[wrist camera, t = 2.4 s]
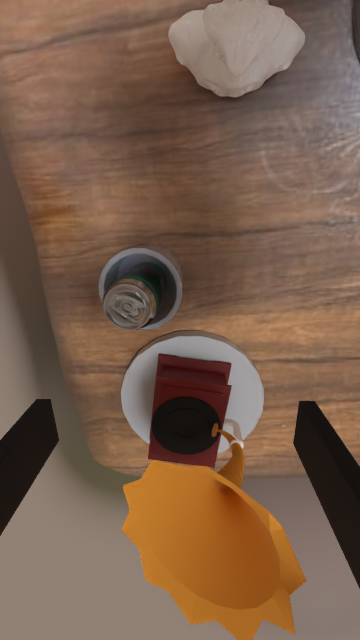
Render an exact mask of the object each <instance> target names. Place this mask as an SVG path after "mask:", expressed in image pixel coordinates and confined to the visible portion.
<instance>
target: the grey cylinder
mask: <svg viewBox="0 0 360 640" xmlns="http://www.w3.org/2000/svg"><path fill="white" fill-rule="evenodd" d="M142 262H151V263H154V264H156V265H158V266H159V267H160V268H162V270H163V271H164V273H165V275H166V277H167V288H166V290H165V293H164V295H163V298H162V300H161V303H160V305H159V307H158V310H157V312H156V315H155V317H154V319H153V320H152V321H151V322H150V323H149V324H148V325H147V326H145V327H144V328H141V329H138V330H151V329H154V328H158V327H161V326H162V325H164V324H165V323H167V322H168V321H170V320H171V319H172V317H173V316H174V315H175V313H176V312H177V311H178V308H179V306H180V303H181V300H182V294H183V288H184V275H183V271H182V268H181V266H180V264H179V262H178V261H177V259H176V258H175V257H174V256H173V255H172V254H171V253H170V252H169V251H167V250H166V249H164V248H162V247H160V246H157V245H153V244H140V245H137V246H134V247H131V248H129V249H126V250H124V251H121V252H119V253H117V254H116V255H115V256H114V257H112V258H111V259H110V260H109V261H108V262H107V263H106V265H105V267H104V268H103V270H102V272H101V275H100V280H99V295H100V299H101V301H102V304H103V296H104V293H105V291H106V289H107V287H108V286H109V285H110V284H111V283H112V282H114V281H115V280H116V279H118V278H119V277H120V276H122V275H123V274H124V273H126V272H127V271H129V270H130V269H131V268H133V267H134V266H135V265H137V264H139V263H142Z"/></svg>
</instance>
